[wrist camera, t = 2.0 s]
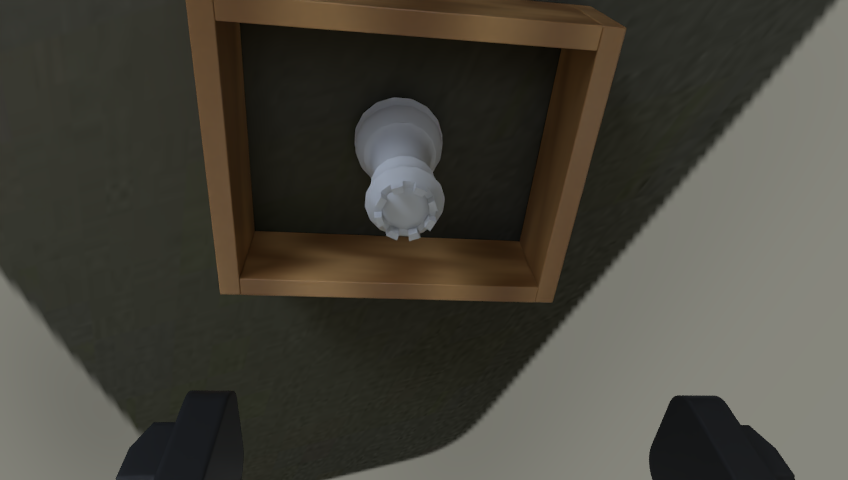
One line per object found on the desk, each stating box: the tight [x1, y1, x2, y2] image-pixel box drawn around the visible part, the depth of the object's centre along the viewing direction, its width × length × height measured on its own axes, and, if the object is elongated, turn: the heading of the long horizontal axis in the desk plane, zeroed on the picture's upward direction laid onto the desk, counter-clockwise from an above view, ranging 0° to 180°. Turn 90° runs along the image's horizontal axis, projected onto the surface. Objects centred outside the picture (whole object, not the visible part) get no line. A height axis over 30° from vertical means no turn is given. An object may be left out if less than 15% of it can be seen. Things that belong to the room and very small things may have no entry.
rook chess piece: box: [354, 97, 445, 241], centre depth 26 cm, size 4×4×8 cm
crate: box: [186, 0, 626, 303], centre depth 28 cm, size 17×14×4 cm
